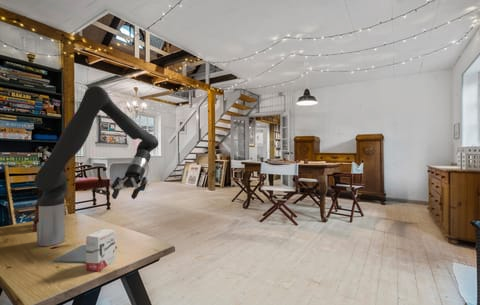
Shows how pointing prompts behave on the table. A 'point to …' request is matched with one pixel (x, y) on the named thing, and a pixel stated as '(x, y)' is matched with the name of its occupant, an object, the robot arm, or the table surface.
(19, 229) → the table surface
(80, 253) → the charcoal mat
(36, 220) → the binoculars
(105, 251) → the ink box
